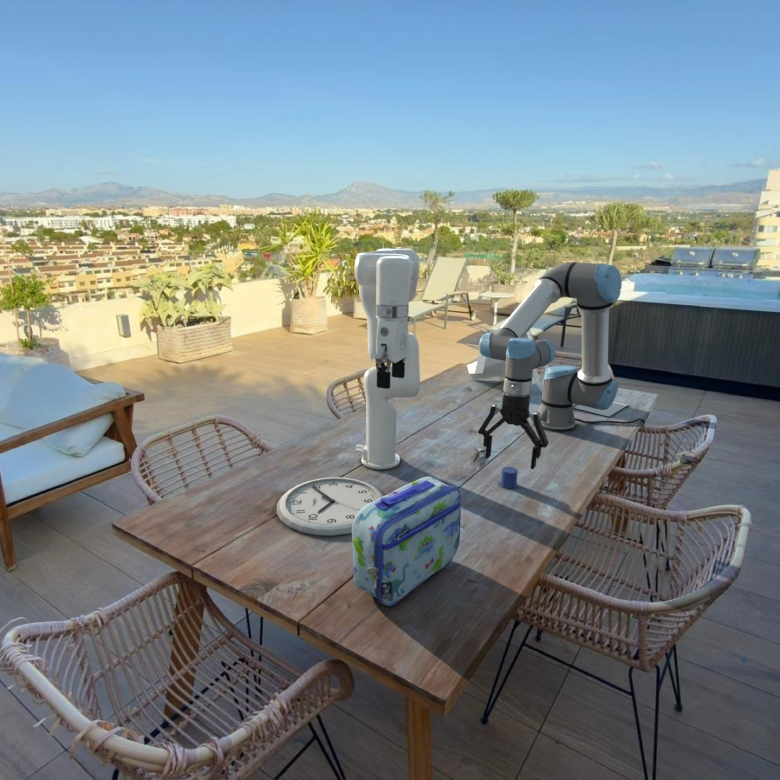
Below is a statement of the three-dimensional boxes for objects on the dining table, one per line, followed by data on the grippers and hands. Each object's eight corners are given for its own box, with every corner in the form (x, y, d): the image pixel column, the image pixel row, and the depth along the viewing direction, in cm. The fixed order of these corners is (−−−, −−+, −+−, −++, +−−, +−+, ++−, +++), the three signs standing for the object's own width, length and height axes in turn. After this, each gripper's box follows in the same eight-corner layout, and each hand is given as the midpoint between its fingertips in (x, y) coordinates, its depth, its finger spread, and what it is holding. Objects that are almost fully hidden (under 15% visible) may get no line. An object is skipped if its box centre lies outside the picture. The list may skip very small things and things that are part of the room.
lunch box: (381, 619, 101) (382, 525, 95) (345, 592, 109) (344, 503, 102) (464, 563, 119) (469, 480, 113) (428, 543, 126) (432, 464, 120)
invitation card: (608, 416, 214) (573, 407, 224) (608, 416, 214) (573, 408, 224) (628, 404, 229) (594, 396, 238) (628, 405, 229) (594, 397, 238)
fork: (469, 463, 170) (469, 457, 169) (478, 444, 184) (479, 439, 183) (477, 464, 169) (477, 458, 168) (486, 446, 183) (486, 440, 182)
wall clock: (392, 527, 129) (268, 531, 127) (391, 533, 130) (269, 537, 127) (383, 473, 158) (282, 475, 155) (383, 478, 158) (282, 480, 156)
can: (500, 487, 154) (502, 472, 153) (501, 480, 158) (502, 465, 157) (516, 489, 153) (517, 474, 152) (516, 482, 158) (517, 467, 156)
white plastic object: (488, 421, 262) (468, 398, 237) (469, 348, 284) (449, 320, 260) (560, 397, 250) (547, 371, 225) (534, 322, 272) (520, 291, 247)
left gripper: (394, 318, 112) (392, 394, 117) (419, 307, 127) (417, 375, 133) (362, 315, 115) (362, 390, 120) (390, 305, 130) (389, 372, 135)
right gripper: (470, 389, 150) (465, 457, 157) (558, 404, 139) (549, 477, 145) (479, 383, 157) (474, 448, 163) (564, 397, 145) (556, 467, 151)
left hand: (391, 382), depth 126 cm, fingers open, 9 cm apart
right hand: (510, 462), depth 154 cm, fingers open, 13 cm apart
